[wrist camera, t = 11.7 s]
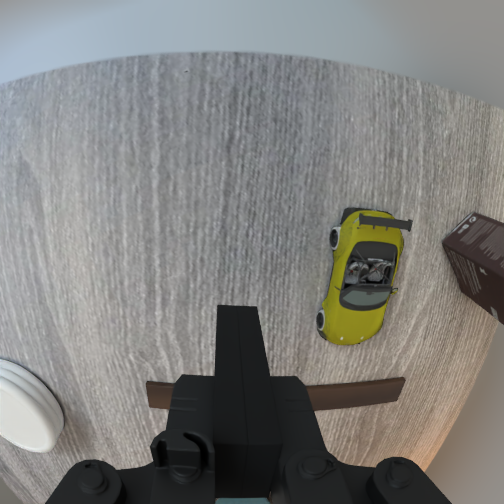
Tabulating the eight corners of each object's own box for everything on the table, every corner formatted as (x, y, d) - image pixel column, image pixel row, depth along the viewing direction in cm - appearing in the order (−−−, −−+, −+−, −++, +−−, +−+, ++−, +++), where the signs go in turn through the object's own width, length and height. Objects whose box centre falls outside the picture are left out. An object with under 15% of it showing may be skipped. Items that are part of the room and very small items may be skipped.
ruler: (146, 380, 23) (145, 384, 22) (403, 376, 25) (405, 380, 25) (150, 403, 24) (149, 407, 23) (394, 397, 26) (397, 401, 25)
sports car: (309, 339, 23) (320, 363, 20) (333, 202, 20) (350, 210, 17) (370, 338, 23) (386, 360, 20) (400, 211, 20) (423, 220, 18)
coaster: (72, 443, 25) (63, 466, 22) (-1, 413, 24) (-14, 433, 20) (57, 375, 22) (41, 400, 19) (-24, 344, 21) (-42, 362, 18)
